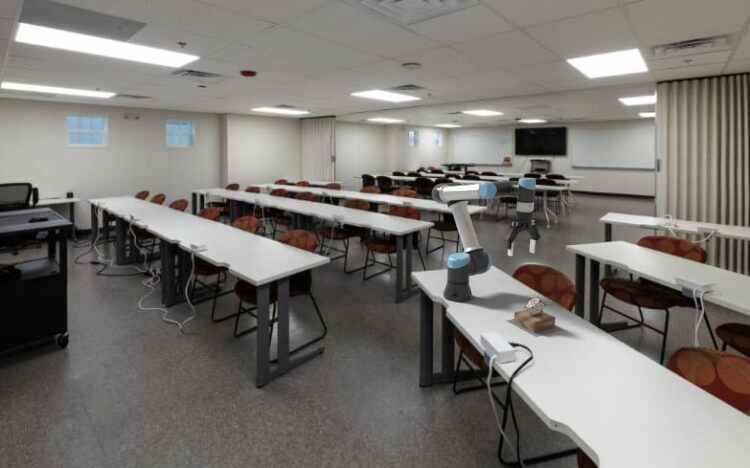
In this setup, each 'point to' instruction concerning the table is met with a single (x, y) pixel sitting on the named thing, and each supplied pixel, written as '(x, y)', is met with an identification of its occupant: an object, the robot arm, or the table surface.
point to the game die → (535, 306)
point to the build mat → (537, 332)
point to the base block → (534, 321)
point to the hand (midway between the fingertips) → (521, 254)
